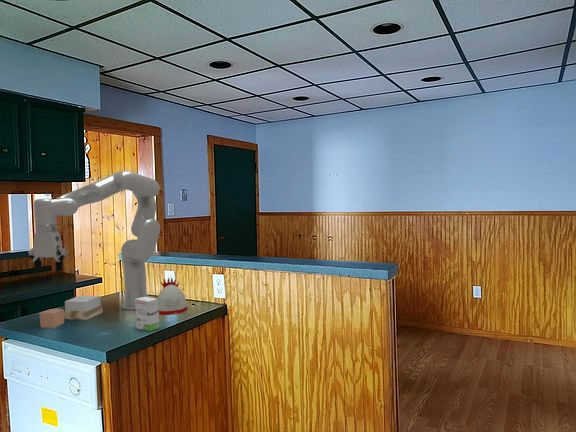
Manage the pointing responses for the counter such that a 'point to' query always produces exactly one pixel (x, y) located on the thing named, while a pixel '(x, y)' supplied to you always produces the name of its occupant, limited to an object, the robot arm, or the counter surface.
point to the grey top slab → (82, 303)
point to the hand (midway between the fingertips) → (48, 271)
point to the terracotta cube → (52, 318)
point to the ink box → (147, 313)
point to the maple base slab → (83, 313)
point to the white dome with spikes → (171, 299)
